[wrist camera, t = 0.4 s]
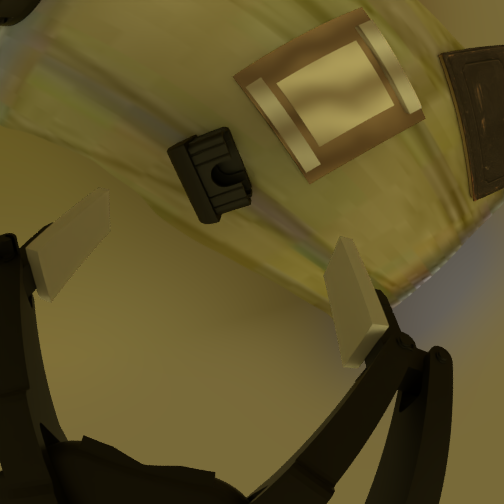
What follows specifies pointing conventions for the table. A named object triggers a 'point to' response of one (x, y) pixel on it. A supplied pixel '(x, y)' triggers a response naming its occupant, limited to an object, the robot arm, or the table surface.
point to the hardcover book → (479, 113)
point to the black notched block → (212, 174)
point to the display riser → (332, 93)
